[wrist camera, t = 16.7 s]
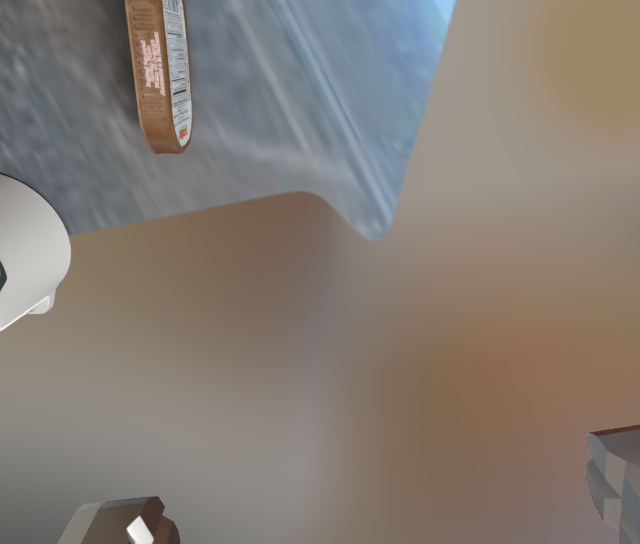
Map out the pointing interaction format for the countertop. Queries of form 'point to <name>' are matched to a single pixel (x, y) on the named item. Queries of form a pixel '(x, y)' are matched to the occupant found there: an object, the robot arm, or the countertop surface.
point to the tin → (161, 72)
